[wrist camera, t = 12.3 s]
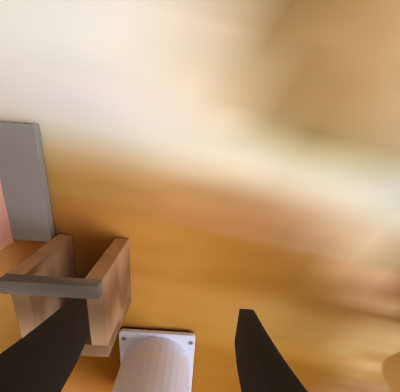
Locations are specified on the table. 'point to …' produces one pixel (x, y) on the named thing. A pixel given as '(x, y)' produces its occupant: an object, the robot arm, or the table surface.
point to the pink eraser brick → (4, 224)
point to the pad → (25, 182)
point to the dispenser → (72, 290)
